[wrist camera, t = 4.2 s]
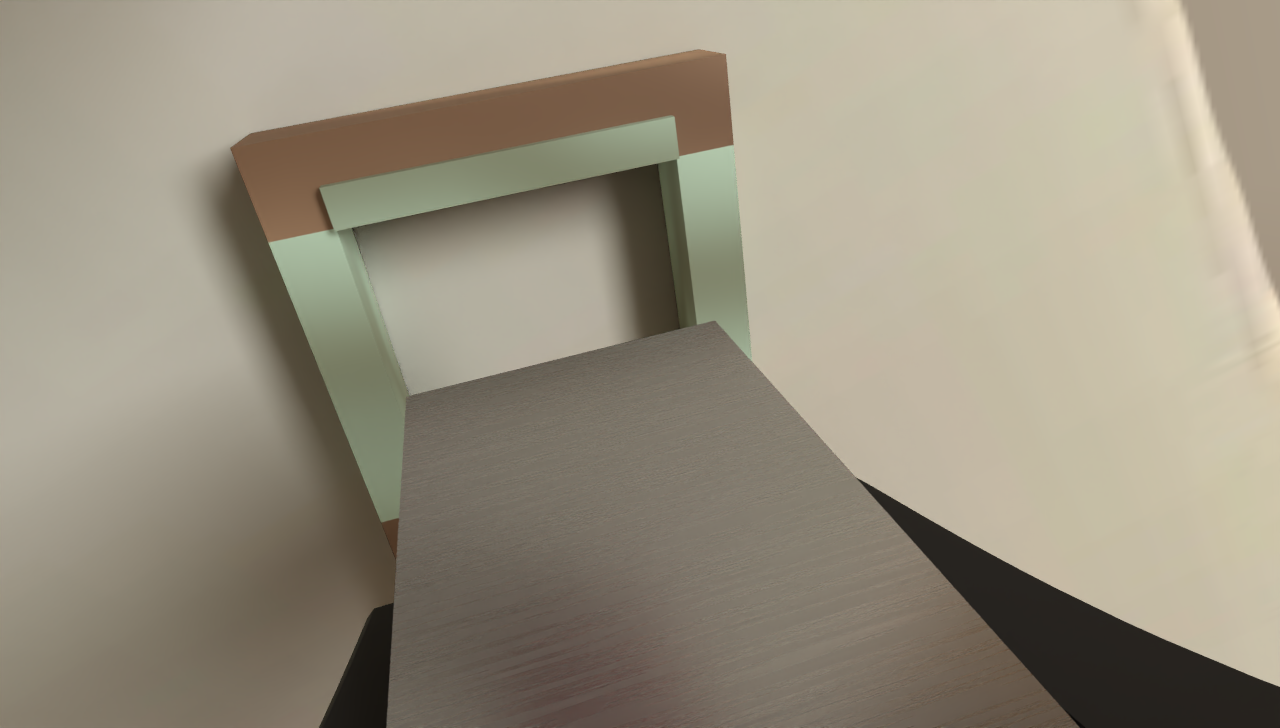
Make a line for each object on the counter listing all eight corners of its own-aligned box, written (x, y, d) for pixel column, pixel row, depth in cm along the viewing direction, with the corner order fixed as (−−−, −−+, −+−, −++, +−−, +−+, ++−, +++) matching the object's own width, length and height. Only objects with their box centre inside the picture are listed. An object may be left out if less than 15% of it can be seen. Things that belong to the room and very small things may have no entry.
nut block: (739, 551, 13) (1027, 1059, 7) (486, 628, 12) (544, 1272, 6) (714, 320, 11) (1099, 748, 5) (406, 396, 10) (368, 1021, 4)
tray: (763, 687, 25) (786, 734, 23) (498, 776, 23) (503, 831, 22) (699, 49, 15) (729, 54, 14) (250, 133, 14) (227, 150, 12)
